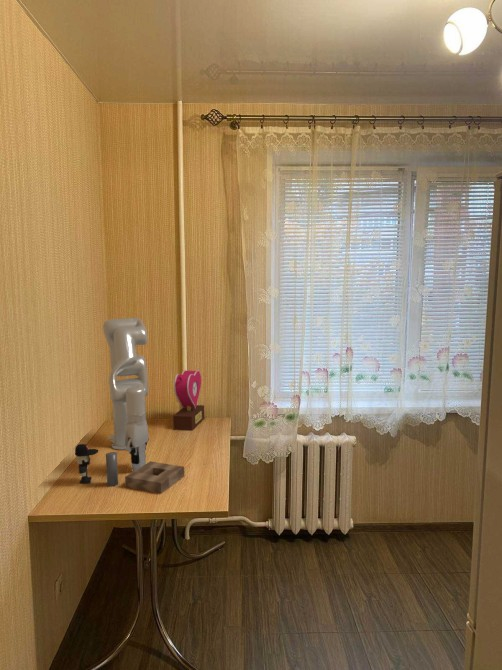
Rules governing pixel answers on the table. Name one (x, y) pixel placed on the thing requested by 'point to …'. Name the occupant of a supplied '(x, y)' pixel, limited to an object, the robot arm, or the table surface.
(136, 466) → the square bit
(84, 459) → the toy
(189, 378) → the decorative clock
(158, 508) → the table surface
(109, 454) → the round bit
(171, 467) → the bore block
